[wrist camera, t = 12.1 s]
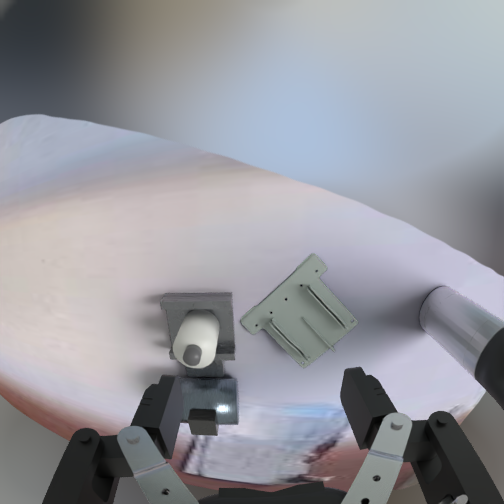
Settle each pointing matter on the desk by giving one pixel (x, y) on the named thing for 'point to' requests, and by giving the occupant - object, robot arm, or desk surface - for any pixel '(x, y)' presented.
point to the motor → (208, 390)
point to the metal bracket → (302, 314)
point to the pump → (197, 339)
